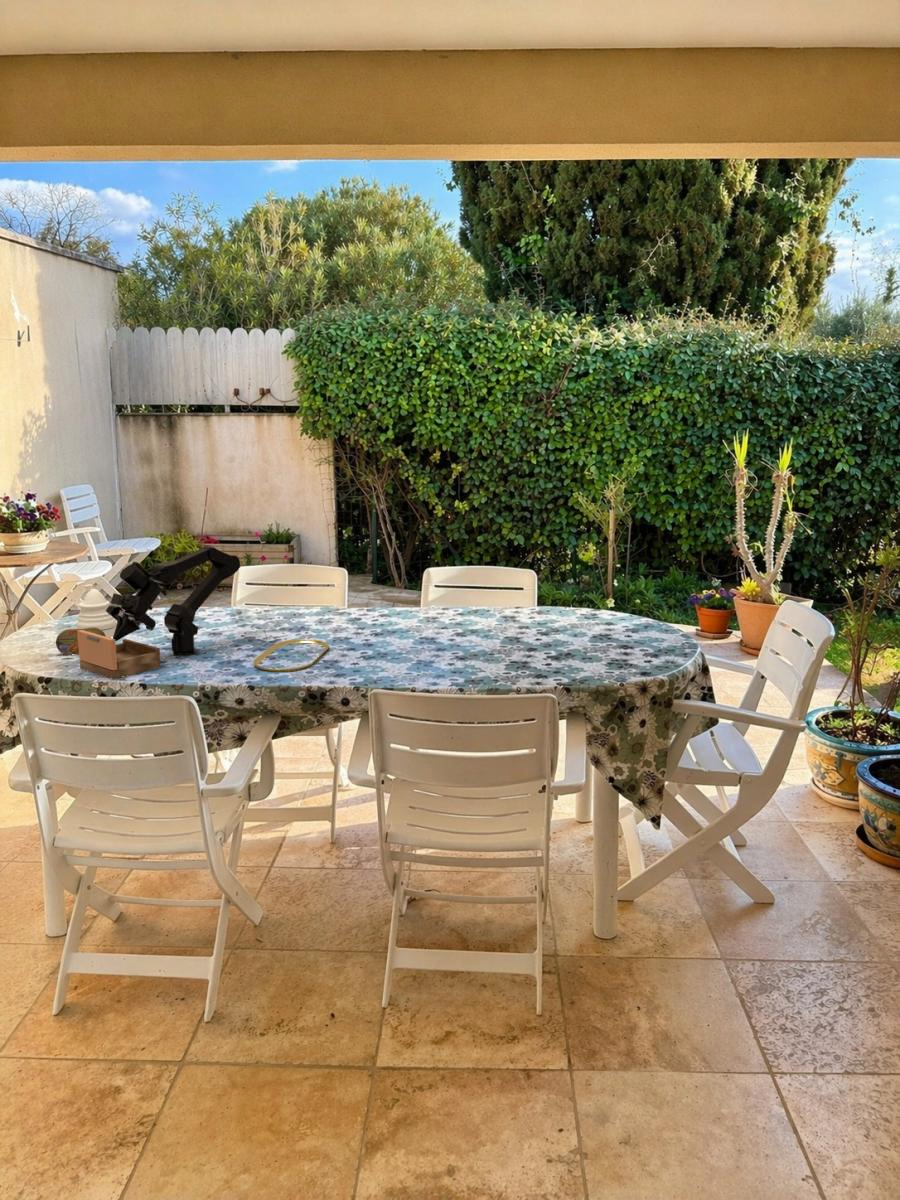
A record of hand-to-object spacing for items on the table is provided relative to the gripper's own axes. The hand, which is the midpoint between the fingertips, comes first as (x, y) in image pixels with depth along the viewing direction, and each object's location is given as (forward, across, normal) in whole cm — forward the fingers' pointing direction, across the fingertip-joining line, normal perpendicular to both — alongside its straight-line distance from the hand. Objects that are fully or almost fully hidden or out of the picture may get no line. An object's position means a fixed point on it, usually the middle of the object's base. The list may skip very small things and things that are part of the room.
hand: (114, 640), depth 275 cm
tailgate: (+9, 0, 0) cm, 9 cm away
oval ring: (-24, +31, +37) cm, 54 cm away
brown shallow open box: (+5, 0, +7) cm, 9 cm away
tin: (+4, -24, +9) cm, 26 cm away
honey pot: (-6, -41, +19) cm, 45 cm away
